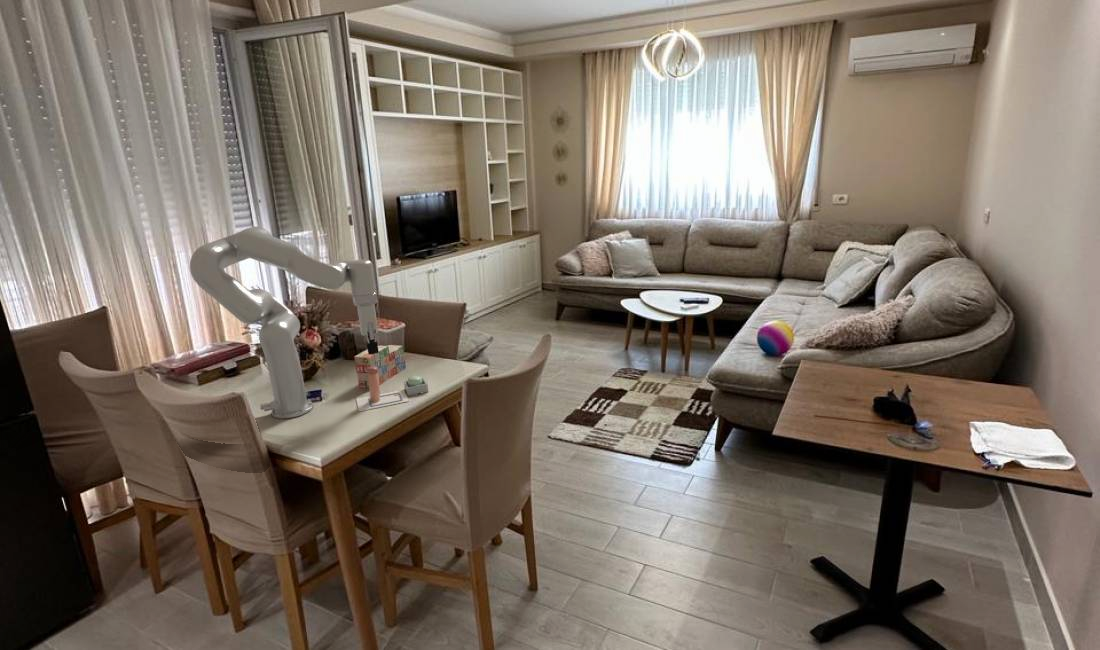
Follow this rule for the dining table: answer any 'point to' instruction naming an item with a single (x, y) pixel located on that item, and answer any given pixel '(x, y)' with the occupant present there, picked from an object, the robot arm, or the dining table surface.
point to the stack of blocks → (380, 364)
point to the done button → (415, 381)
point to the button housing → (416, 388)
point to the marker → (373, 384)
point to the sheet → (382, 400)
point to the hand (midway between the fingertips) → (373, 352)
